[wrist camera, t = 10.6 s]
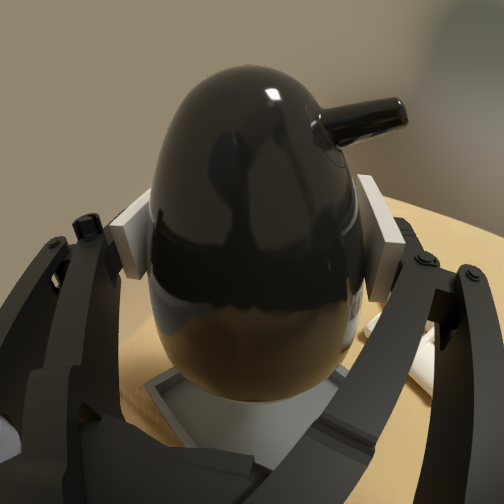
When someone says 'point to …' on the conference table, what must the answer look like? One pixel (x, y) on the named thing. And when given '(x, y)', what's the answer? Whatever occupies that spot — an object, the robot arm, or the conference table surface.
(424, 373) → the knuckle duster
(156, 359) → the conference table surface
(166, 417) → the holder tray
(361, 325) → the conference table surface
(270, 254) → the pump dispenser
